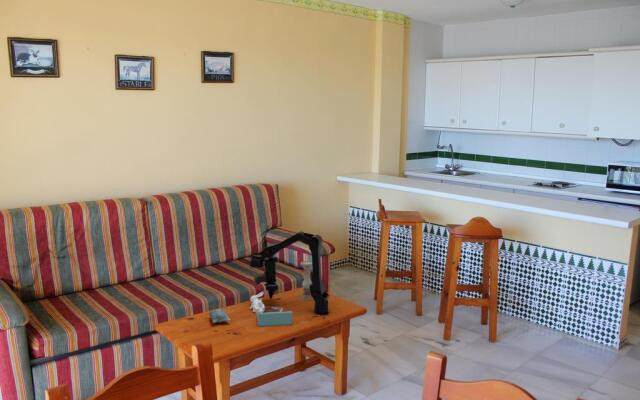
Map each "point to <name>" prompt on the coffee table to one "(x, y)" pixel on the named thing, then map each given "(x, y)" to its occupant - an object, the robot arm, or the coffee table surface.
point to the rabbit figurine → (257, 303)
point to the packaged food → (218, 316)
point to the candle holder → (306, 281)
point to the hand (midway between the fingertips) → (270, 298)
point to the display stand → (274, 318)
